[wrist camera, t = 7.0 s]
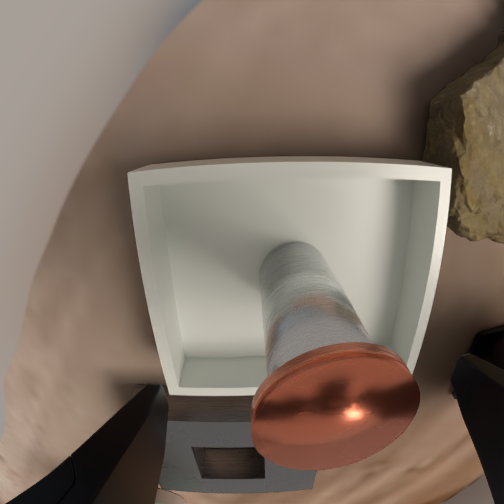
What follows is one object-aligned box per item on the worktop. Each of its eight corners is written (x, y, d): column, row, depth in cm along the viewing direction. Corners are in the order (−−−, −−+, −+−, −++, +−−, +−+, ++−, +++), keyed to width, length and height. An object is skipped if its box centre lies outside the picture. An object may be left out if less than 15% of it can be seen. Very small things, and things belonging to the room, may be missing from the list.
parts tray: (418, 160, 14) (451, 168, 11) (392, 345, 18) (411, 376, 15) (150, 164, 14) (127, 172, 11) (179, 358, 18) (169, 394, 15)
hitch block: (319, 381, 19) (328, 416, 16) (307, 460, 22) (312, 488, 20) (136, 384, 19) (124, 416, 16) (167, 461, 22) (162, 489, 20)
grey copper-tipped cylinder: (340, 229, 15) (440, 350, 6) (334, 310, 16) (395, 456, 8) (246, 233, 15) (247, 373, 6) (250, 314, 16) (254, 475, 8)
